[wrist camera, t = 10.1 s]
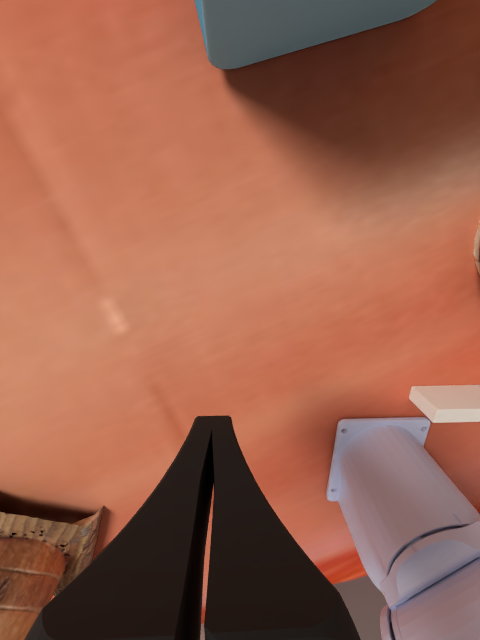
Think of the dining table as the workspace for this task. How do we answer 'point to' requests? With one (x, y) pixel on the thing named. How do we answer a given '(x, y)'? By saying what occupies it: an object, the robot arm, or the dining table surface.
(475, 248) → the trinket box
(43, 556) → the bird sculpture
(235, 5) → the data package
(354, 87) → the dining table surface
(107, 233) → the dining table surface
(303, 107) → the dining table surface
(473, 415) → the display bay
